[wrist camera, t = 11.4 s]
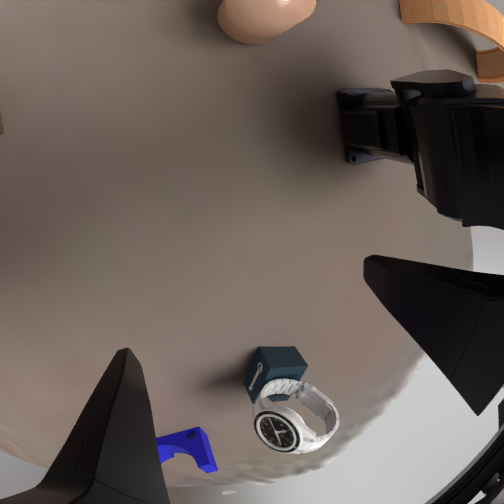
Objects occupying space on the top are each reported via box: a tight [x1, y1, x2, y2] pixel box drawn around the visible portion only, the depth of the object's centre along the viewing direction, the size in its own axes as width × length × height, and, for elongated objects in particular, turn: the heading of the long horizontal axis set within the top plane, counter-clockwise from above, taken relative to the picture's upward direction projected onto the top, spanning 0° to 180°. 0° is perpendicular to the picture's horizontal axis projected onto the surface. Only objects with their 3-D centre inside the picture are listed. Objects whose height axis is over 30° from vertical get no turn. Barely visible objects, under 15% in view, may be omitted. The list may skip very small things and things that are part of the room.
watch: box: [244, 347, 339, 454], centre depth 24 cm, size 6×8×11 cm
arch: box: [399, 0, 504, 83], centre depth 15 cm, size 6×20×10 cm, turn 86°
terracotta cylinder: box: [217, 0, 316, 45], centre depth 12 cm, size 5×5×5 cm
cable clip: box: [156, 427, 218, 473], centre depth 27 cm, size 12×4×6 cm, turn 103°
